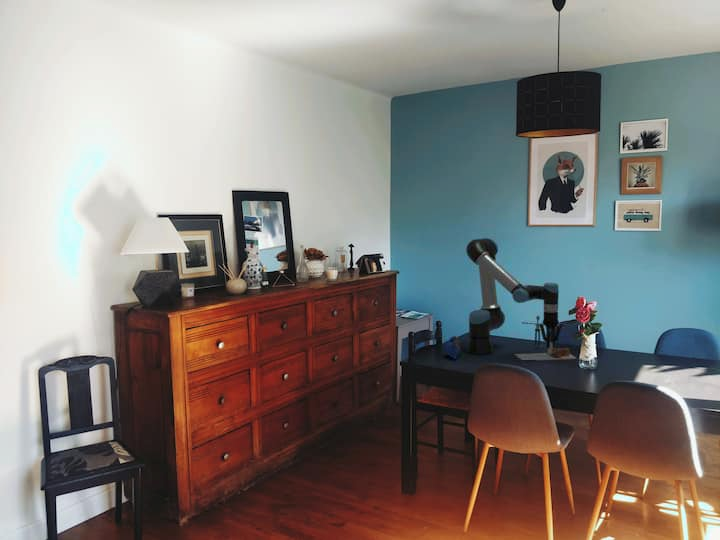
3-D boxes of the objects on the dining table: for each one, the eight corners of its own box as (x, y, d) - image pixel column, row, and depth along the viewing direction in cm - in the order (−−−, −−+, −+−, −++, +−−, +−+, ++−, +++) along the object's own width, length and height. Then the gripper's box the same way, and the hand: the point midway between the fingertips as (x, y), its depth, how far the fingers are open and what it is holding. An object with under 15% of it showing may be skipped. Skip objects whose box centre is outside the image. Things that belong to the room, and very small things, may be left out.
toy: (461, 354, 322) (462, 360, 307) (443, 354, 324) (443, 361, 309) (459, 335, 321) (460, 340, 307) (442, 336, 323) (442, 341, 308)
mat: (522, 361, 304) (522, 360, 304) (514, 355, 316) (514, 354, 316) (576, 358, 306) (576, 357, 305) (567, 353, 317) (567, 352, 317)
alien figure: (556, 348, 329) (557, 315, 327) (555, 350, 325) (555, 317, 323) (521, 344, 339) (521, 313, 337) (519, 347, 334) (519, 314, 332)
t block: (554, 358, 306) (554, 351, 306) (547, 353, 316) (547, 347, 315) (572, 357, 306) (572, 351, 306) (564, 352, 316) (564, 346, 316)
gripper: (541, 312, 304) (541, 355, 306) (565, 312, 305) (564, 354, 307) (536, 310, 311) (536, 352, 314) (559, 309, 312) (558, 351, 315)
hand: (550, 353), depth 311 cm, fingers closed
